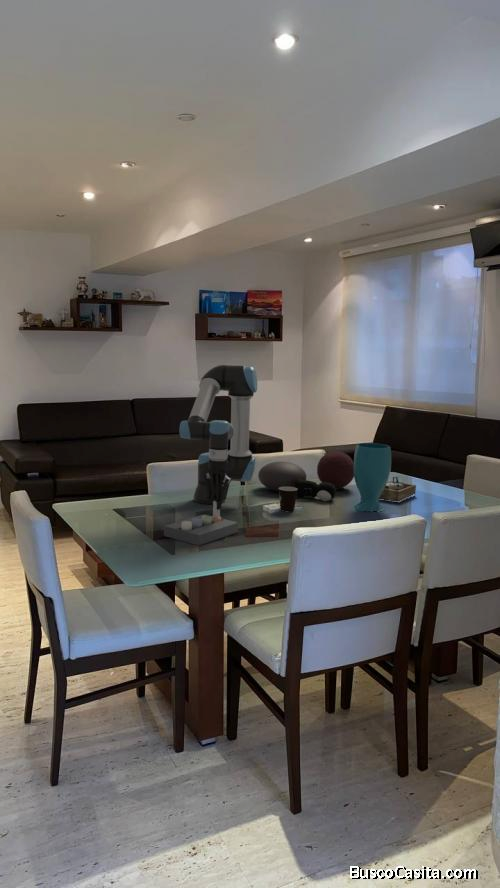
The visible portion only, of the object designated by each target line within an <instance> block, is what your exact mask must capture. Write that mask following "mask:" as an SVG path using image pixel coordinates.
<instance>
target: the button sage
mask: <svg viewBox="0 0 500 888" xmlns="http://www.w3.org/2000/svg"><path fill="white" fill-rule="evenodd" d="M203 515H204V514H203ZM212 516H213V515H208V514H205V515H204V516H202V524H205V525H210V524H212Z"/></svg>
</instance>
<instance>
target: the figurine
mask: <svg viewBox="0 0 500 888" xmlns="http://www.w3.org/2000/svg"><path fill="white" fill-rule="evenodd" d="M295 488H297V489H298V490H297V496H296V498H299V499H302V498H303V499H315V498H316V497H317V499H319V500H320V501H323V502H329V501H332V500H333V499H335V496H336V491H337V489H335V486H334V485H333V484H331V483H327V482H320V483H319V484H318V483H317V482H316V481H311V480H309V479H308V480H307V479H306V480H302V479H298V480H297V481H296V484H295Z"/></svg>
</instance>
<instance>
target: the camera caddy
mask: <svg viewBox="0 0 500 888" xmlns="http://www.w3.org/2000/svg"><path fill="white" fill-rule="evenodd" d="M391 482H393V480H388V482H387V483H391ZM403 483H404V489H402V490H399V491H396V490H390V489H384V490H383V492H382V494H381V495H380V497H379V499H384V500H391V501H400V500H402V499H404V498H406V497H409V496H411V495H413V494H415V495H416V492H417V491H416V490H417V485H416V484H413V483H412V484H411V483H405V482H403Z"/></svg>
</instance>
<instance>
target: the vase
mask: <svg viewBox="0 0 500 888" xmlns="http://www.w3.org/2000/svg"><path fill="white" fill-rule="evenodd" d="M391 449H392V448H391V446H389V445H387V444H382V443H376V442H375V443H372V442H370V443H369V442H368V443H367V442H362V443H357V444H356V446H355V450H354V454H353V455H354V456H353V471H354V478H353V479H354V482H355V485H356V488H357V491H358V492H359V496H360V500H359V503H356V504H355V505H353V506H352V507H353V508H354V510H356V511H360V512H364V511H379V510H381V509H382V508H384V507H383V506H382V505H381V503H380V500H379V497H380V495H381V494H382V492H383V490H384V488H385V486H386V484H387V482H389V478H390V475H391V469H392V450H391Z"/></svg>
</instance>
